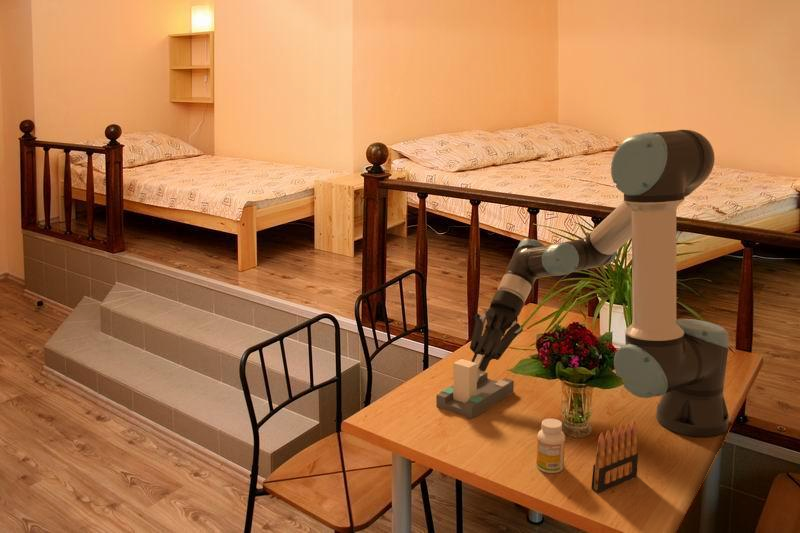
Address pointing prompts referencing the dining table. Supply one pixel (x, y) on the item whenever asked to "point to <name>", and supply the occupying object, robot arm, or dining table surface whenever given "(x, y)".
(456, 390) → the switch tab
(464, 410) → the switch base
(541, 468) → the supplement bottle
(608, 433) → the ammunition clip
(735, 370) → the dining table surface
